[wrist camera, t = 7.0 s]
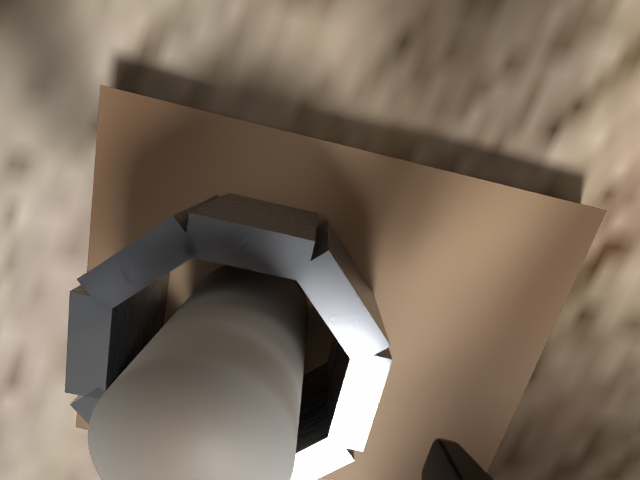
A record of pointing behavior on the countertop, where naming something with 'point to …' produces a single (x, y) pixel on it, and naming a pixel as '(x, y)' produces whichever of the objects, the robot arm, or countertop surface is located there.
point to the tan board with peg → (300, 314)
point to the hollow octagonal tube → (252, 254)
